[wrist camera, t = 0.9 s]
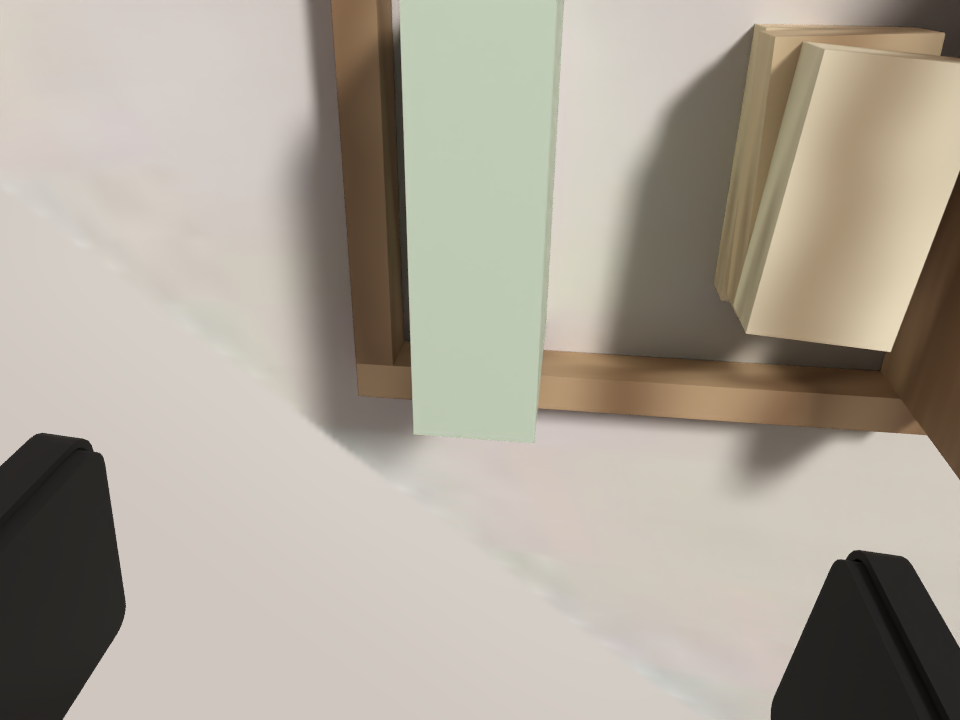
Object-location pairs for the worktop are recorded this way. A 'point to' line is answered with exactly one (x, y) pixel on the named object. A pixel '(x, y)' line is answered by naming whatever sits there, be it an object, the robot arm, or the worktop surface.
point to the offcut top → (852, 195)
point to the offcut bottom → (735, 179)
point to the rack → (620, 378)
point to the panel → (479, 208)
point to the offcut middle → (770, 102)
